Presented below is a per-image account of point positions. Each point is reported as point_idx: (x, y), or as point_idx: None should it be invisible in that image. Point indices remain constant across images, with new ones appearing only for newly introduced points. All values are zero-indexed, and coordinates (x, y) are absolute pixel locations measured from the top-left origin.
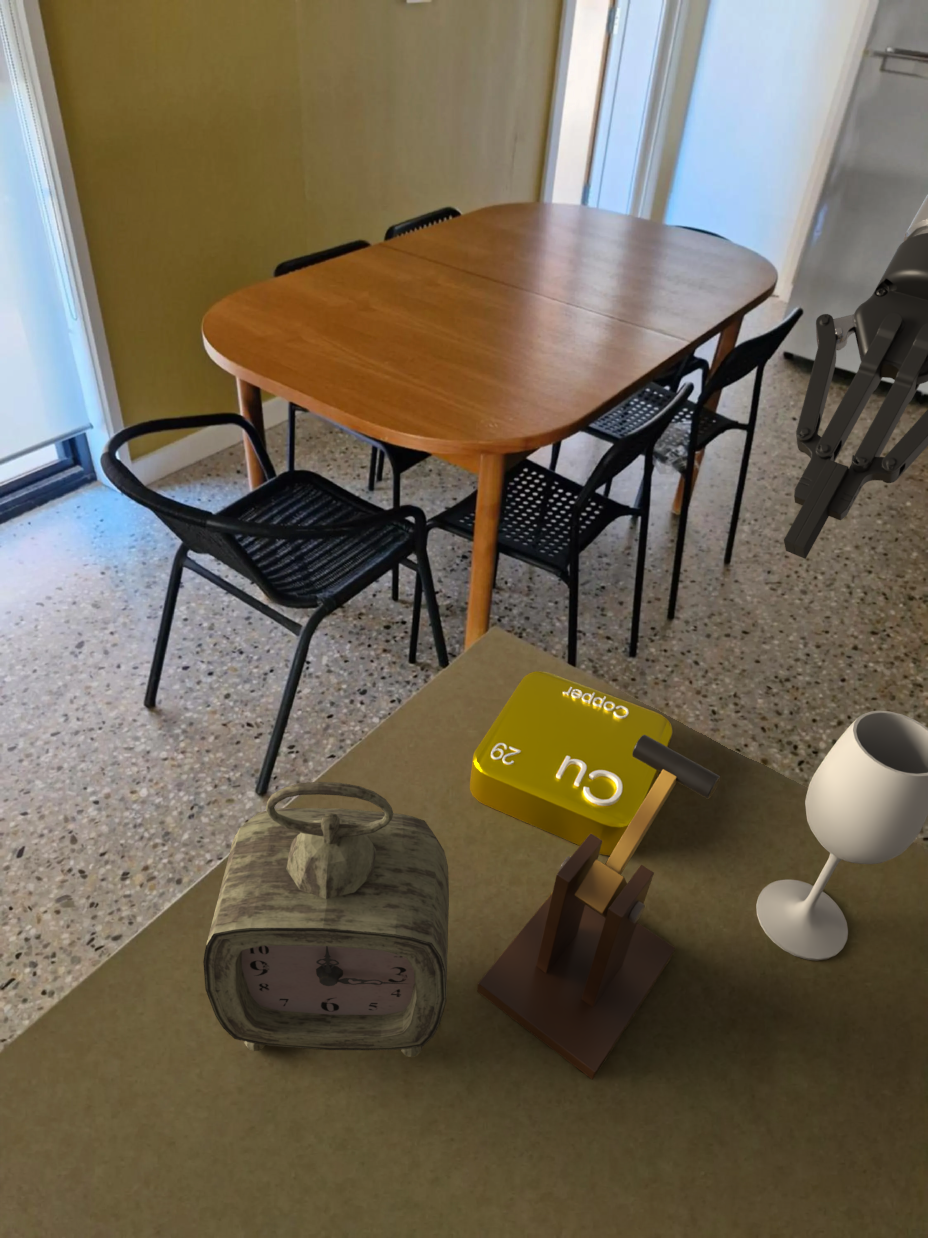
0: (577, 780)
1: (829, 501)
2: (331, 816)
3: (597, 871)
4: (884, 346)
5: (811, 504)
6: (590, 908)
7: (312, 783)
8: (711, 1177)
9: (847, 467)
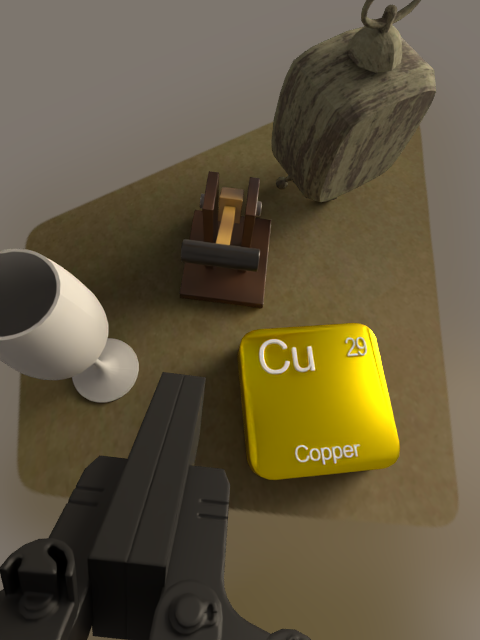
0: (294, 350)
1: (131, 450)
2: (392, 6)
3: (237, 196)
4: None
5: (174, 436)
6: (238, 290)
7: None
8: (127, 204)
9: (90, 553)
